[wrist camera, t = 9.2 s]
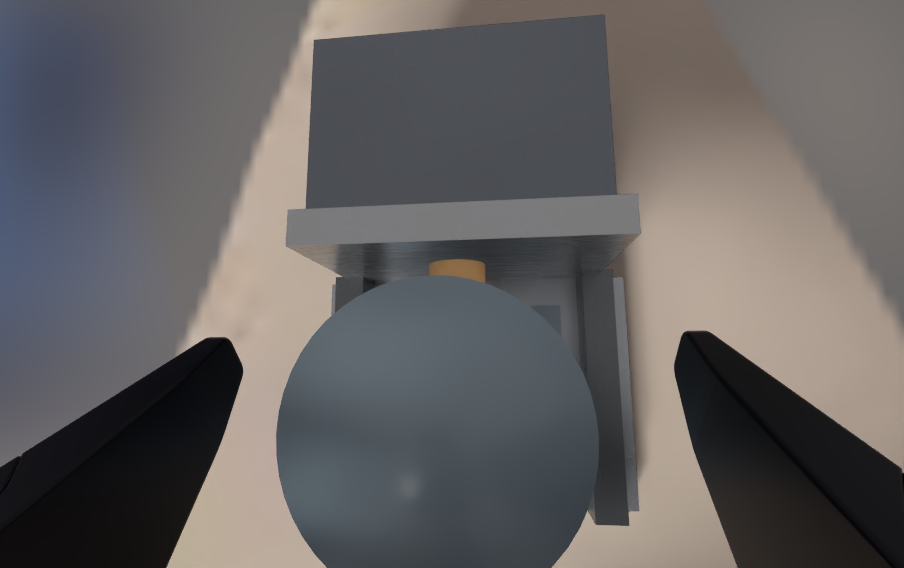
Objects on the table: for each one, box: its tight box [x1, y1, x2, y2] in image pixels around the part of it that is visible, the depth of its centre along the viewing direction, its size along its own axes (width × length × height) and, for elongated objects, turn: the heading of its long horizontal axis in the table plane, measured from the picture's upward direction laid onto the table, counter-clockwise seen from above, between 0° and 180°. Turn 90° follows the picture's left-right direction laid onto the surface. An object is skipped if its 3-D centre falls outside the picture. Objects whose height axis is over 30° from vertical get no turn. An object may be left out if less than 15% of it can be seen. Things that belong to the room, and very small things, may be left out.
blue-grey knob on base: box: [276, 259, 599, 568], centre depth 12 cm, size 6×6×10 cm
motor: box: [286, 15, 641, 526], centre depth 15 cm, size 15×11×7 cm
